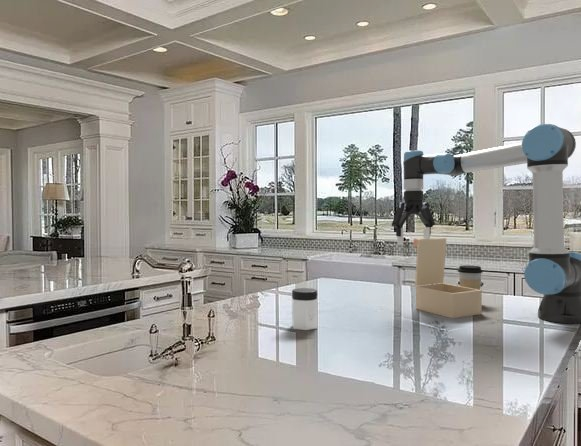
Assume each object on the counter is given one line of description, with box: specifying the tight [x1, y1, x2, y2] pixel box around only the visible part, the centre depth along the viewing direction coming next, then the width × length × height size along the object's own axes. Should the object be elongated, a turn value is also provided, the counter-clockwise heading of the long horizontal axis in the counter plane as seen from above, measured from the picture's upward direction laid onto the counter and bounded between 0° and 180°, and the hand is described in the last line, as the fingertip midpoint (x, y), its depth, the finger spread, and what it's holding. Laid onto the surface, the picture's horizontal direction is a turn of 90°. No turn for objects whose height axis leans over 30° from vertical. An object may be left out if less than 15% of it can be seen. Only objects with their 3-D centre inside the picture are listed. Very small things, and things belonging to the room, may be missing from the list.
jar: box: [291, 287, 319, 331], centre depth 158 cm, size 9×8×12 cm
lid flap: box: [412, 237, 447, 286], centre depth 189 cm, size 17×14×9 cm
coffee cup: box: [457, 264, 483, 290], centre depth 193 cm, size 9×9×15 cm
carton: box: [415, 282, 483, 319], centre depth 178 cm, size 18×14×9 cm
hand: (413, 244), depth 194 cm, fingers open, 13 cm apart
